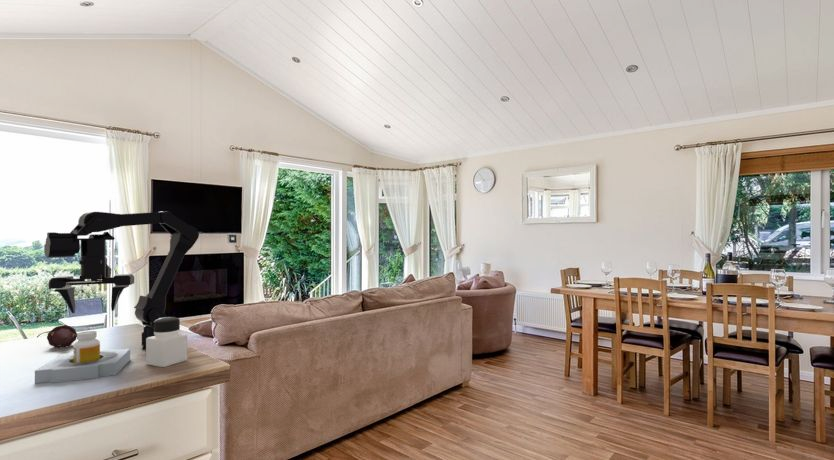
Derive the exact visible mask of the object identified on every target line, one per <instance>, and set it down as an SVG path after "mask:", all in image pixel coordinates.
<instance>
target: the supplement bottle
mask: <svg viewBox="0 0 834 460" xmlns="http://www.w3.org/2000/svg"><path fill="white" fill-rule="evenodd" d="M76 333H77V332H76ZM96 338H97V331H96V330H89V331H88V330H87V331H81V332H78V333H77V338H76V340H77V341H75V343H73V347H72V348H73V350H72V351H73V354H74V356H73V358H74V363H82V362H89V361H95V360H98V359H100V351H101V342H100V340H99V339H96Z"/></svg>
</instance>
